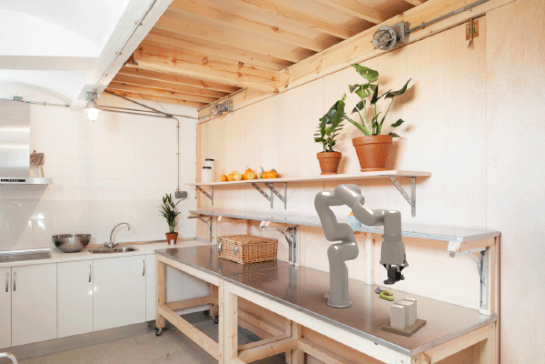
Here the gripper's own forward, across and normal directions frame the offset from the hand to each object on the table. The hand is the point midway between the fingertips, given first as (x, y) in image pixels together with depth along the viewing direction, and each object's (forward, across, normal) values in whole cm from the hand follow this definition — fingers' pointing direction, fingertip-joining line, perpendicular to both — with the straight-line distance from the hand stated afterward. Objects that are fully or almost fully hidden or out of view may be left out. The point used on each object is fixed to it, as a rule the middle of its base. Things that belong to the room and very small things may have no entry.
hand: (394, 279), depth 162 cm
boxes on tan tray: (+20, +4, 0) cm, 20 cm away
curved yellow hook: (+20, -25, +40) cm, 51 cm away
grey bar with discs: (+1, 0, 0) cm, 1 cm away
